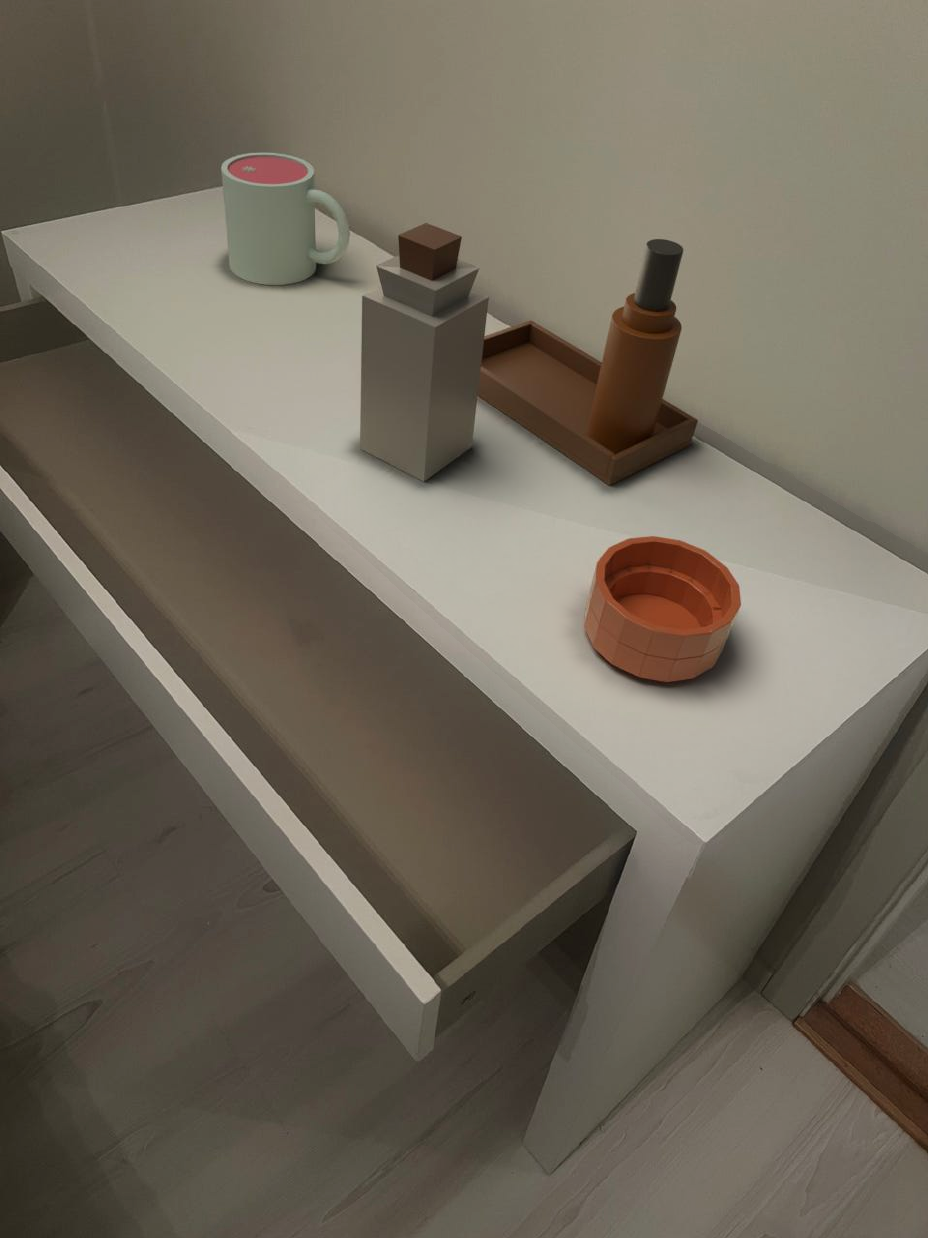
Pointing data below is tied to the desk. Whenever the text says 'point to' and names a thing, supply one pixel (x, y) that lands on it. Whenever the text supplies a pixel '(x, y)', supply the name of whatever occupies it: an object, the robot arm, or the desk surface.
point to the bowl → (661, 608)
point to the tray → (567, 400)
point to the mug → (275, 218)
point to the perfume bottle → (421, 354)
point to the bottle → (638, 354)
